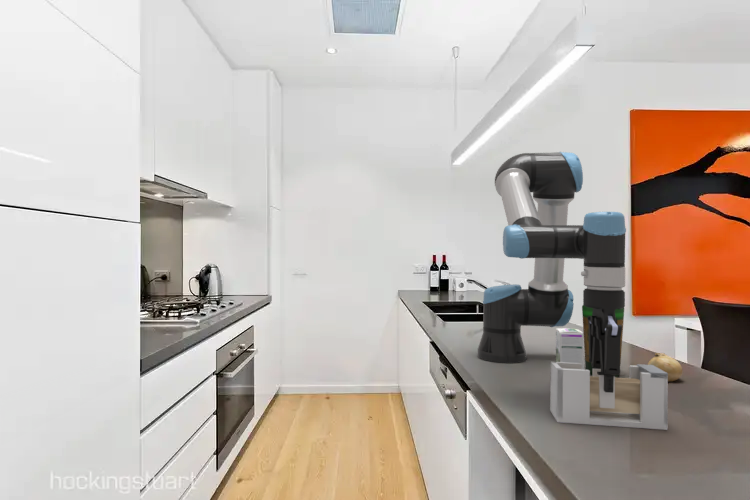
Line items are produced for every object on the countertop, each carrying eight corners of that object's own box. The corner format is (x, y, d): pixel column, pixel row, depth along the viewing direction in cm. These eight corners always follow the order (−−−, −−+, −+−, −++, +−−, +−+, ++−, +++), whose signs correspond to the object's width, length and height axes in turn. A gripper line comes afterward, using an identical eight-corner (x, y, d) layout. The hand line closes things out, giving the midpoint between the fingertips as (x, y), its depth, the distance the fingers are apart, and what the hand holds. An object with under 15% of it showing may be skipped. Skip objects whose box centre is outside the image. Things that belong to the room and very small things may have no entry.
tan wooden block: (564, 403, 94) (564, 374, 94) (637, 408, 91) (637, 378, 91) (568, 409, 90) (569, 379, 90) (644, 414, 88) (644, 383, 88)
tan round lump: (679, 377, 123) (679, 351, 123) (685, 385, 116) (685, 357, 116) (645, 374, 126) (645, 349, 126) (649, 381, 119) (649, 354, 119)
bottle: (583, 377, 122) (584, 274, 122) (579, 368, 132) (580, 273, 132) (628, 381, 119) (628, 275, 119) (620, 371, 129) (620, 273, 129)
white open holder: (550, 410, 96) (550, 360, 96) (652, 417, 92) (652, 364, 92) (557, 422, 89) (557, 367, 89) (667, 429, 86) (667, 373, 86)
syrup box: (585, 391, 109) (585, 332, 110) (559, 390, 111) (559, 331, 111) (579, 385, 115) (579, 328, 115) (554, 383, 116) (555, 327, 116)
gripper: (573, 285, 100) (572, 390, 100) (596, 291, 84) (596, 417, 83) (609, 285, 99) (609, 392, 98) (640, 292, 82) (640, 420, 82)
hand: (603, 403), depth 91 cm, fingers closed on tan wooden block, 3 cm apart
